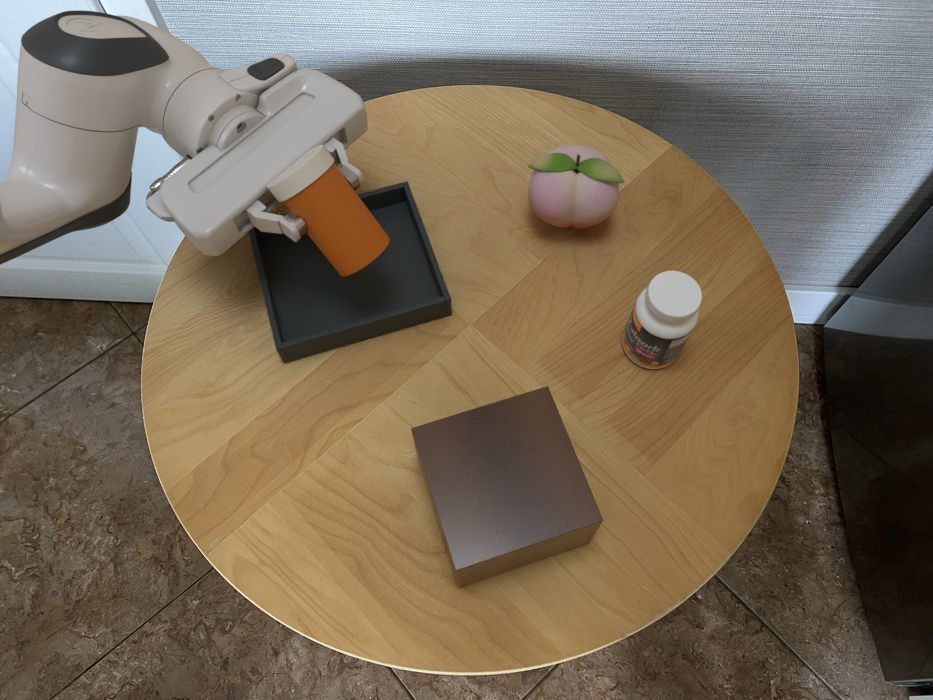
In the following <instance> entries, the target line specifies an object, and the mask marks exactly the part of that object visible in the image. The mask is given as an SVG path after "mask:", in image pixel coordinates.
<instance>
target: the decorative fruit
mask: <svg viewBox="0 0 933 700" xmlns="http://www.w3.org/2000/svg"><path fill="white" fill-rule="evenodd" d="M527 168H528V169H531V170H532V172H531V176H530V178H529V183H528V188H527V189H528V190H527V200H528V202H529V207H530V209H531V210H532V212H533V213H534V214H535V215H536V216H537V217H538V218H539V219H540V220H542V221H543V222H546V223H547V224H549V225H551V226H554V227H557V228H568V227H569V228H570V227H571V228H574V229H585V228H589V227H592V226H595V225H598V224H600V223H601V222H603V221H605V220H607V219H608V218H609V217H610V216H611V215H612V214H613V213H614V211H615V210H616V208H617V206H618V203H619V197H620V184H624V183H625V180H624V177H623V176H622V174H621V172H619V170H618V169H617V168H616V167H615V166H613V164H612V162H611V161H610V159H609V158H608V157H607V156H606V155H605V154H604V153H602V152H601V151H600V150H598V149H596V148H594V147H591V146H586V145H583V144H582V145H581V144H565V145H560V146H558V147H554V148H552V149H551V150H549V151H548V152H546V153H545V154H544V155H542V156H540V157H538V158H536V159H535V160H534V161H532V162H531V163H530V164H529V165H528V166H527Z"/></svg>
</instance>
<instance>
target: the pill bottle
mask: <svg viewBox="0 0 933 700" xmlns="http://www.w3.org/2000/svg"><path fill="white" fill-rule="evenodd" d="M702 301H703V293H702V289H701V287H700V285H699V283H698V282H697V281H696V280H695V279H694V278H693V277H691V276H690V275H689V274H687V273H686V272H682V271H678V270H665V271H662V272H659V273H658V274H656V275H655V276H654V277H652V278H651V280H650V281H649V284H648V285H647V287H645V288H644V289H643V290H642V291H641V292H640V293H639V295H638V296H637V298H636V300H635V304H634V306H633V308H632V310H631V313H630V315H629V318H628V320H627V323H626V325H625V328H624V330H623V334H622V339H621V340H622V341H621V342H622V347H623V350H624V353H625V354H626V356H627V357H628V358H629V359H630V361H631V362H633V363H634V364H635V365H637V366H639V367H642V368H645V369H649V370H650V369H651V370H659V369H663V368H666V367H668V366H670V365H671V364H672V363H674V362H675V360H676V359H677V358H678V357H679V356H680V354H681V352H682V349H683V348H684V347H685V345H686V343H687V340H688V339H689V338H690V336H691V334H692V332H693V330H694V329H695V327H696V325H697V323H698V320H699V309H700V307H701V304H702Z"/></svg>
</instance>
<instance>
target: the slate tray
mask: <svg viewBox="0 0 933 700" xmlns="http://www.w3.org/2000/svg"><path fill="white" fill-rule="evenodd" d="M357 195H358V196H359V197H360V199H361V200H362V201H363V203H364V204H365V206H366V207H367V208H368V210H369V211H370V212H371V214H372V215H373V216H374V218H375V219H376V220H377V222H378V223H379V224H380V226H381V227H382V228H383V230H384V231H385V232H386V234H387V235H388V236H389V238H390V242H389V244H388V246H387V247H386V249H385V250H384V251H383V252H382V253H381V254H380V255H379V256H378V257H377V258H376V259H375V260H373V261H372V262H371V263H370V264H368V265H367V266H366V267H364V268H363V269H361V270H359V271H357V272H356V273H353V274H351V275H348V276H341V275H340V274H339V273H338V272H337V270H336V269H335V268H334V267H333V265H332V264H331V263H330V262H329V260H328V259H327V258H326V257H325V255H324V254H323V253H322V252H321V250H320V249H319V248H318V247H317V245H316V244H315V243H314V242H313V240H312V239H311V238H310V237H309V235H308V234H307V233H306V234H305V235H304V236H303V237H301V238H300V239H299V240H298V241H297V242H295V241H293V240H292V239H291V238H289V237H288V236H287V235H285V234H284V233H283V234H279V233H270V232H261V231H260V230H259V229H257V228H256V227H255V226H254V227H253V228H252V229H251V230H250V231H249V232H247V233H248V238H249V241H250V246H251V250H252V254H253V259H254V263H255V266H256V271H257V275H258V279H259V283H260V288H261V292H262V296H263V300H264V305H265V308H266V313H267V317H268V320H269V325H270V329H271V332H272V337H273V341H274V345H275V350H276V352H277V354H278V356H279V357H280V359H281V361H282V363H283V364H287V363H290V362H294V361H297V360H301V359H304V358H308V357H311V356H314V355H318V354H321V353H324V352H328V351H332V350H335V349H338V348H342V347H345V346H348V345H352V344H355V343H356V344H357V343H360V342H363V341H366V340H369V339H373V338H376V337H380V336H384V335H387V334H390V333H393V332H394V333H395V332H398V331H400V330H404V329H408V328H411V327H414V326H418V325H422V324H425V323H428V322H431V321H434V320H439V319H442V318H446V317H449V316H452V315H453V310H452V297H451V295H450V292H449V289H448V287H447V284H446V282H445V281H446V280H445V278H444V275H443V273H442V271H441V267H440V265H439V262H438V259H437V257H436V255H435V252H434V249H433V245H432V243H431V241H430V237H429V236H428V232H427V230H426V227H425V225H424V222H423V219H422V217H421V214H420V210H419V208H418V206H417V203H416V200H415V198H414V195H413V192H412V190H411V186H410V184H409V181H408V180H406V181H403V182H399V183H395V184H392V185H388V186H384V187H380V188H376V189H373V190H368V191H365V192H361V193H357ZM287 213H288V212H285V213H281V214H280V215H282V216H285V215H286V214H287Z"/></svg>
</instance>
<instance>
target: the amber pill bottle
mask: <svg viewBox="0 0 933 700" xmlns="http://www.w3.org/2000/svg"><path fill="white" fill-rule="evenodd" d="M339 169H340V168H339V167H338V166H336V165H335V164H334V159H333V157H332V156H331V154H330V153H329V152H328V150H327V149H326V148H325V146H324V145H323V144H322V145H318V146H316V147H314V148H312V149H311V150H309V151H308V152H306V153H305V154H304V155H303V156H302V157H300V158H299V159H298V160H297V161H296V162H294V163H293V164H292V165H291V166H290V167H288V168H287V169H286V170H285V171H283V172H282V173H281V174H280V175H279V176H277V177H276V178H275V179H274V180H273V181H271V182H270V183H269V184H268V185H267V188H268V189H269V190H270V192H271V193H272V194H273V195H274V197H275V198H276V199H277V200H278V202H282V204H283V206H284V207H285V208H286V209H287V211H288V213H289V212H290V211H291V212H293V213H294V214H296V215H297V217H300V218H302V219H303V220H304V221H305V223H306V224H307V227H306V228H307V229H308V232H307V234H308V235H309V237H310V238H311V239H312V240H313V242H314V243H315V244H316V245H317V247H318V248H319V249H320V250H321V252H322V253H323V254H324V255H325V257H326V258H327V259H328V260H329V262H330V263H331V264H332V265H333V267H334V268H335V269H336V270H337V272H338V273H339V274H340V275H341V276H348V275H351V274H353V273H356V272H357V271H359V270H361V269H363V268H364V267H366V266H367V265H368V264H370V263H371V262H372V261H373V260H375V259H376V258H377V257H378V256H379V255H380V254H381V253H382V252H383V251H384V250H385V249H386V247H387V246H388V244H389V242H390V238H389V236H388V235H387V234H386V232H385V231H384V230H383V228H382V227H381V226H380V224H379V223H378V222H377V220H376V219H375V218H374V216H373V215H372V214H371V212H370V211H369V210H368V208H367V207H366V206H365V204H364V203H363V201H362V200H361V199H360V197H359V196H358V195H357V194H358V193H357V192H356V190H355V191H354V189H353V188H352V187H351V185H350V184H349V183H348V181H347V180H346V179H345V177H344V176H343V175H342V173H341V172H340V171H339Z"/></svg>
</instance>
